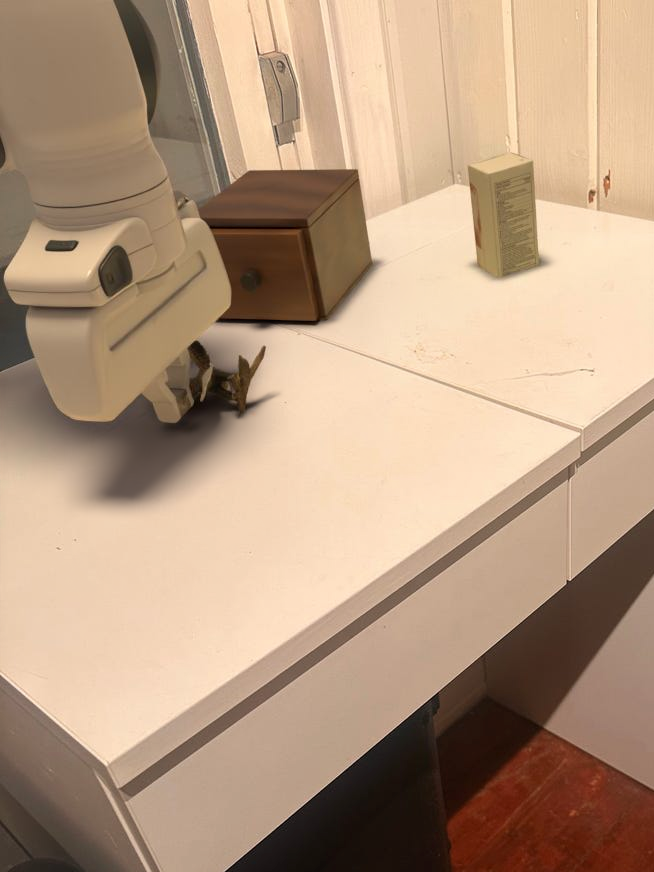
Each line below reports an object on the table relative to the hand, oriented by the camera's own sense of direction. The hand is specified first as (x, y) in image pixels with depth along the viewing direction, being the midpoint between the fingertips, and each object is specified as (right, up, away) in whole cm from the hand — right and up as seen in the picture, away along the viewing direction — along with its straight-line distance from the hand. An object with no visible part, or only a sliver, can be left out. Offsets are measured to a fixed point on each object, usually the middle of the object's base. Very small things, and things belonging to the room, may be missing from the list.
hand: (177, 414), depth 71 cm
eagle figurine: (+2, +2, +4) cm, 5 cm away
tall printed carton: (+26, +20, +21) cm, 39 cm away
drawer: (+5, +16, +18) cm, 24 cm away
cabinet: (+5, +17, +20) cm, 27 cm away
